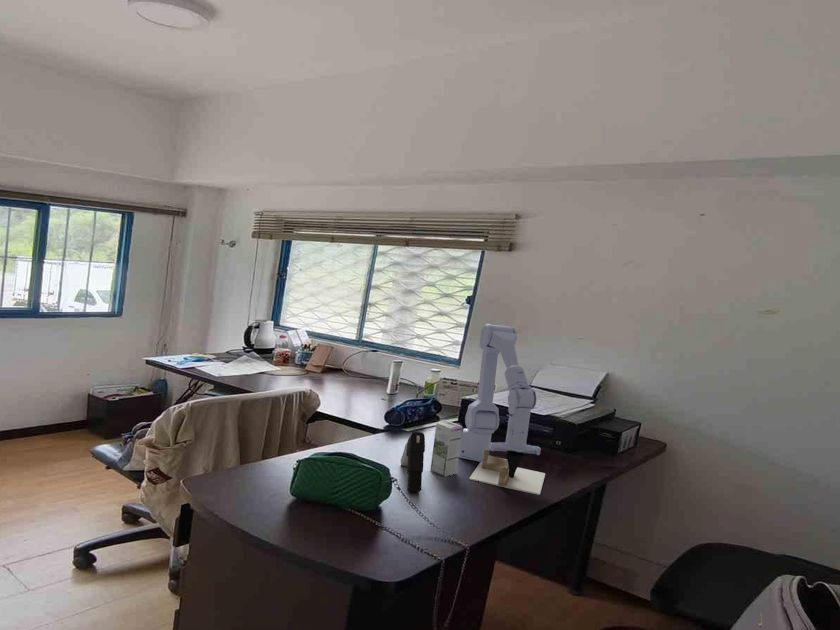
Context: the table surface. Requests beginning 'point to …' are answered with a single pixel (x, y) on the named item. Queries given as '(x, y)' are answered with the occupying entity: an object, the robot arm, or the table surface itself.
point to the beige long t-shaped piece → (503, 474)
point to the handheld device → (414, 460)
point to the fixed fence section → (492, 462)
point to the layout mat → (512, 479)
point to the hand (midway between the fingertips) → (511, 476)
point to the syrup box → (446, 448)
